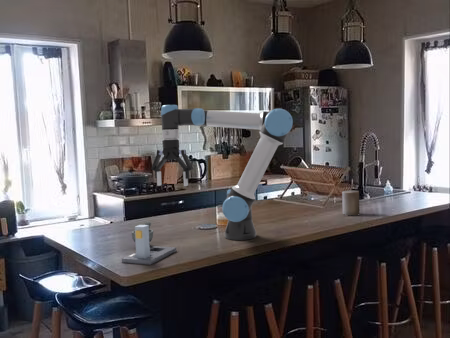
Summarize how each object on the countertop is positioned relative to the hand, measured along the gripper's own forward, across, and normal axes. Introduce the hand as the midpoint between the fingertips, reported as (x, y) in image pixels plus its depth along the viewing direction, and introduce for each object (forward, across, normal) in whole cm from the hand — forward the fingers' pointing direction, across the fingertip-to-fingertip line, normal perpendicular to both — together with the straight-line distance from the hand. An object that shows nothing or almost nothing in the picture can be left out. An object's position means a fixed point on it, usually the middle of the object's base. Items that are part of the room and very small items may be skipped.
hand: (172, 185), depth 221 cm
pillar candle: (+27, +68, +91) cm, 117 cm away
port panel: (+27, +1, -24) cm, 36 cm away
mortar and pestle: (+27, -11, -9) cm, 30 cm away
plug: (+27, +1, -30) cm, 40 cm away
